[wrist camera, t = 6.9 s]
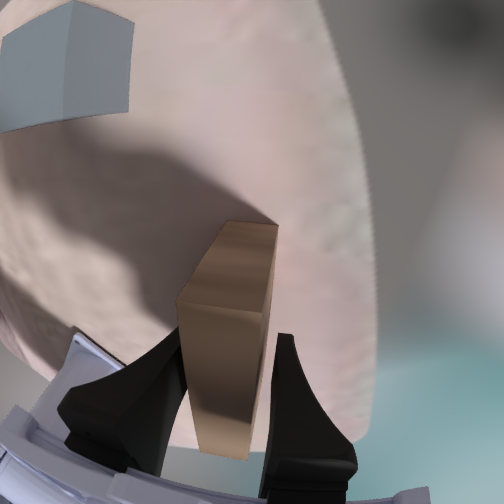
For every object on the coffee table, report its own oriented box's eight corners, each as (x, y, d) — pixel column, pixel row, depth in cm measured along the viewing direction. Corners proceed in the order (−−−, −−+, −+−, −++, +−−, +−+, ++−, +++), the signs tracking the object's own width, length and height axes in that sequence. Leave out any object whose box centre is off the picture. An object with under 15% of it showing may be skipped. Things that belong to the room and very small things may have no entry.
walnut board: (263, 368, 19) (247, 460, 12) (226, 363, 19) (199, 451, 13) (278, 224, 14) (261, 312, 8) (227, 219, 15) (175, 300, 8)
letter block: (135, 23, 11) (74, 0, 6) (129, 112, 13) (63, 118, 8) (63, 43, 11) (1, 38, 7) (59, 121, 13) (-5, 134, 9)
